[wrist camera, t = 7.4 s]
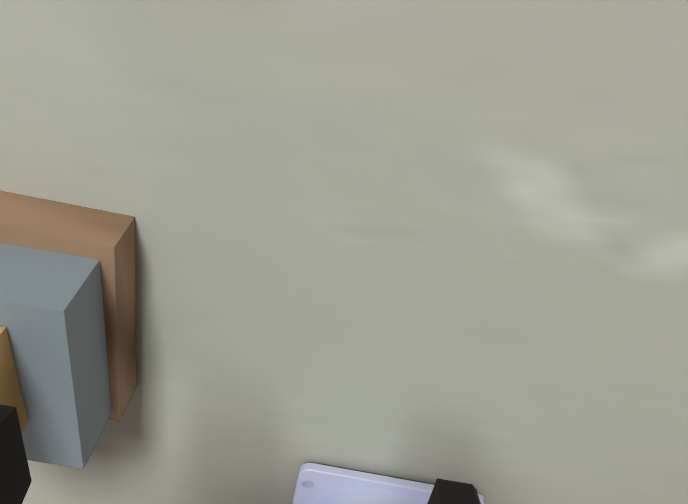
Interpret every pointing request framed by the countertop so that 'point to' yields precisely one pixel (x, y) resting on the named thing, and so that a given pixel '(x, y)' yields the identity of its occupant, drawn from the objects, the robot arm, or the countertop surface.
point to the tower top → (57, 350)
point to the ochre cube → (10, 380)
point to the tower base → (97, 243)
